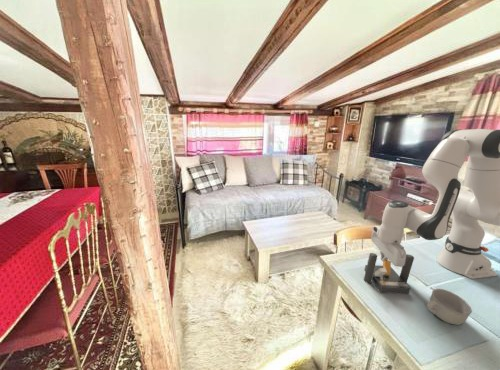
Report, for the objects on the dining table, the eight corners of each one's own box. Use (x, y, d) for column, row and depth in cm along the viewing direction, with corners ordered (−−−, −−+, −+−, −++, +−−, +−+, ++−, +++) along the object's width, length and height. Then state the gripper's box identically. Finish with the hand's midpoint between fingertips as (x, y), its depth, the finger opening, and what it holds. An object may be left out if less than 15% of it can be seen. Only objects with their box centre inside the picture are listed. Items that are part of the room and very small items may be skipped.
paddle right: (378, 273, 93) (385, 268, 88) (379, 277, 92) (387, 272, 87) (373, 273, 93) (380, 268, 88) (374, 276, 92) (381, 271, 87)
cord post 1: (369, 278, 95) (375, 253, 91) (372, 282, 93) (378, 257, 88) (362, 277, 96) (368, 252, 91) (365, 282, 93) (371, 256, 89)
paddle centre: (387, 274, 94) (388, 260, 93) (390, 276, 92) (390, 261, 92) (382, 274, 94) (383, 260, 93) (384, 275, 92) (385, 261, 92)
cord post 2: (403, 279, 95) (410, 254, 91) (408, 284, 92) (415, 258, 88) (397, 279, 95) (404, 254, 91) (401, 284, 92) (408, 258, 88)
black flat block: (388, 270, 100) (390, 265, 99) (408, 293, 87) (410, 287, 86) (364, 270, 101) (365, 264, 100) (380, 292, 87) (381, 286, 86)
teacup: (448, 305, 82) (454, 289, 79) (473, 331, 71) (481, 314, 69) (411, 302, 83) (416, 286, 81) (431, 327, 73) (438, 310, 70)
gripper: (413, 249, 80) (405, 277, 85) (384, 224, 100) (378, 248, 104) (397, 249, 81) (389, 276, 85) (371, 224, 100) (366, 248, 104)
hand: (383, 261), depth 95 cm, fingers closed
